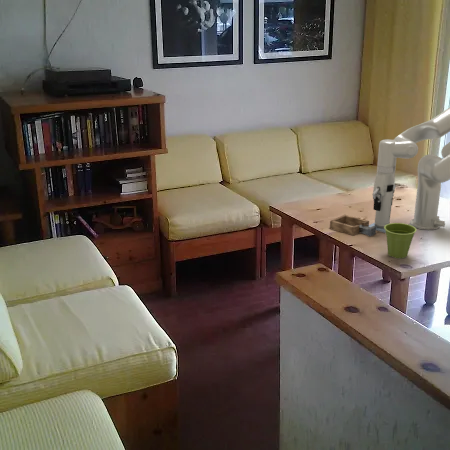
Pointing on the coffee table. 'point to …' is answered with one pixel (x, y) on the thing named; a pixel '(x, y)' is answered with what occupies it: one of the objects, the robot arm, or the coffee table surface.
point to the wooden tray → (342, 227)
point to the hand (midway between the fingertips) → (382, 207)
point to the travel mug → (384, 209)
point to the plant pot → (399, 239)
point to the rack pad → (378, 228)
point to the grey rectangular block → (367, 230)
